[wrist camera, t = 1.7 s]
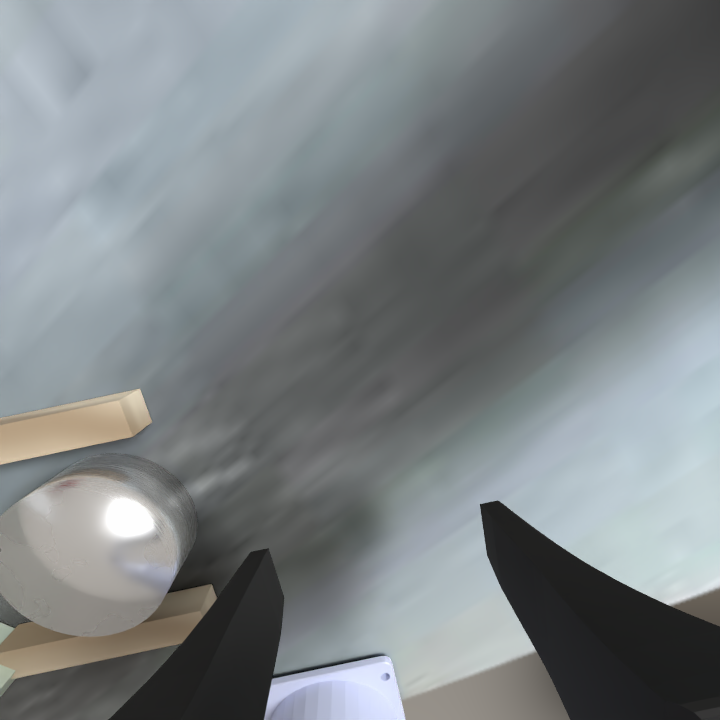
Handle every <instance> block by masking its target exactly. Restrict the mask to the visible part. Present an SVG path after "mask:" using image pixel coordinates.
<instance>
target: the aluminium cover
mask: <svg viewBox="0 0 720 720" xmlns="http://www.w3.org/2000/svg"><path fill="white" fill-rule="evenodd" d="M197 530H198V519H197V513H196V509H195V505H194V503H193V501H192V499H191V496H190V495H189V493H188V492H187V490H186V489H185V487H184V486H183V485H182V484H181V482H180V481H179V480H178V479H177V478H176V477H174V476H173V475H172V474H171V473H170V472H168V471H167V470H166V469H164V468H162V467H161V466H159V465H157V464H155V463H153V462H151V461H149V460H146V459H143V458H140V457H137V456H132V455H127V454H117V453H112V454H100V455H94V456H91V457H87V458H84V459H82V460H80V461H77V462H76V463H74V464H72V465H71V466H69V467H68V468H66V469H65V470H63V471H62V472H60V473H59V474H57V475H56V476H54V477H53V478H52V479H50V480H49V481H47V482H46V483H44V484H43V485H41V486H40V487H39V488H37V489H36V490H34V491H33V492H31V493H30V494H28V495H27V496H26V497H24V498H23V499H21V500H20V501H18V502H17V503H15V504H14V505H13V506H11V507H10V508H9V509H8V510H7V511H5V512H4V514H3V515H2V516H1V517H0V593H1V594H2V596H3V597H4V598H5V599H6V600H7V602H8V603H9V604H10V605H11V606H12V607H13V608H15V609H16V610H17V611H18V612H19V613H21V614H22V615H23V616H25V617H26V618H28V619H29V620H31V621H33V622H34V623H36V624H39V625H41V626H43V627H45V628H48V629H50V630H53V631H56V632H60V633H64V634H68V635H74V636H85V637H96V636H106V635H112V634H116V633H120V632H123V631H126V630H128V629H131V628H133V627H135V626H137V625H138V624H140V623H142V622H143V621H144V620H146V619H147V618H149V617H150V616H151V615H152V614H153V613H154V612H155V611H156V609H157V608H158V607H159V605H160V604H161V603H162V601H163V599H164V597H165V595H166V594H167V592H168V590H169V588H170V587H171V585H172V583H173V581H174V579H175V578H176V576H177V574H178V572H179V570H180V569H181V567H182V565H183V563H184V561H185V560H186V558H187V556H188V554H189V553H190V551H191V549H192V547H193V545H194V542H195V539H196V536H197Z"/></svg>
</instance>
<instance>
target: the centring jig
mask: <svg viewBox="0 0 720 720" xmlns="http://www.w3.org/2000/svg"><path fill="white" fill-rule="evenodd" d="M150 423H152V420H151V418H150V415H149V412H148V410H147V407H146V404H145V401H144V399H143V396H142V393H141V391H140V389H136V390H131V391H127V392H122V393H117V394H112V395H108V396H103V397H98V398H93V399H89V400H84V401H79V402H74V403H69V404H65V405H60V406H55V407H50V408H46V409H41V410H36V411H31V412H27V413H22V414H17V415H12V416H8V417H3V418H0V465H1V464H5V463H10V462H15V461H20V460H24V459H29V458H34V457H39V456H43V455H48V454H53V453H58V452H62V451H67V450H72V449H77V448H81V447H86V446H91V445H96V444H100V443H105V442H110V441H115V440H119V439H124V438H129V437H133V436H134V435H136V434H137V433H138V432H140V431H141V430H142V429H144V428H145V427H146V426H148V425H149V424H150ZM216 599H217V597H216V594H215V591H214V589H213V586H212V584H209V585H205V586H200V587H195V588H190V589H186V590H181V591H176V592H171V593H167V594H166V595H165V597H164V599H163V601H162V603H161V604H160V605H159V607H158V608H157V609H156V611H155V612H154V613H153V614H152V615H151V616H150V617H149V618H147V619H146V620H144V621H143V622H142V623H140V624H138V625H137V626H135V627H133V628H131V629H128V630H126V631H123V632H120V633H116V634H112V635H106V636H96V637H85V636H74V635H68V634H64V633H60V632H56V631H53V630H50V629H48V628H45V627H43V626H41V625H39V624H36V623H34V622H28V623H23V624H19V625H18V626H17V627H16V628H13V627H10V626H8V625H5V624H3V623H0V697H1V696H2V695H3V694H4V692H5V691H6V690H7V689H8V687H9V686H10V685H11V684H12V683H13V681H14V680H15V679H16V678H20V677H24V676H29V675H34V674H39V673H44V672H48V671H53V670H58V669H63V668H67V667H72V666H77V665H82V664H87V663H91V662H96V661H101V660H106V659H110V658H115V657H120V656H125V655H129V654H134V653H139V652H144V651H149V650H153V649H158V648H163V647H168V646H172V645H177V644H182V642H183V641H184V640H185V639H186V638H187V636H188V635H189V634H190V633H191V631H192V630H193V629H194V628H195V626H196V625H197V624H198V623H199V621H200V620H201V619H202V618H203V616H204V615H205V614H206V613H207V611H208V610H209V609H210V607H211V606H212V605H213V603H214V602H215V601H216Z"/></svg>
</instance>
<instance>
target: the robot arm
mask: <svg viewBox="0 0 720 720" xmlns="http://www.w3.org/2000/svg"><path fill="white" fill-rule="evenodd" d="M480 508H481V515H482V522H483V529H484V536H485V543H486V550H487V556H488V558H489V561H490V563H491V565H492V568H493V570H494V572H495V575H496V577H497V579H498V582H499V584H500V586H501V588H502V590H503V592H504V594H505V595H506V597H507V599H508V601H509V603H510V604H511V606H512V608H513V610H514V612H515V613H516V615H517V617H518V619H519V621H520V622H521V624H522V626H523V628H524V629H525V631H526V633H527V635H528V637H529V638H530V640H531V642H532V644H533V645H534V647H535V649H536V651H537V653H538V654H539V656H540V658H541V660H542V662H543V663H544V665H545V667H546V669H547V671H548V673H549V675H550V677H551V679H552V681H553V683H554V685H555V687H556V690H557V692H558V694H559V696H560V698H561V700H562V702H563V705H564V707H565V709H566V711H567V713H568V715H569V718H570V720H720V627H719V626H717V625H714V624H712V623H709V622H707V621H704V620H702V619H699V618H697V617H694V616H692V615H689V614H687V613H685V612H682V611H680V610H678V609H675V608H673V607H671V606H669V605H666V604H664V603H662V602H660V601H658V600H656V599H653V598H651V597H649V596H647V595H645V594H643V593H641V592H639V591H637V590H635V589H633V588H631V587H629V586H627V585H625V584H623V583H621V582H619V581H617V580H615V579H613V578H612V577H610V576H608V575H606V574H604V573H603V572H601V571H599V570H597V569H595V568H594V567H592V566H590V565H588V564H587V563H585V562H583V561H582V560H580V559H579V558H577V557H576V556H574V555H572V554H571V553H569V552H568V551H566V550H565V549H563V548H562V547H560V546H559V545H557V544H556V543H554V542H553V541H552V540H550V539H549V538H547V537H546V536H545V535H543V534H542V533H540V532H539V531H538V530H536V529H535V528H533V527H532V526H531V525H529V524H528V523H527V522H525V521H524V520H523V519H522V518H520V517H519V516H518V515H516V514H515V513H514V512H512V511H511V510H510V509H509V508H507V507H506V506H505V505H504V504H502V503H501V502H499V501H493V502H489V503H484V504H480ZM283 605H284V595H283V592H282V589H281V586H280V583H279V580H278V577H277V573H276V570H275V567H274V564H273V561H272V558H271V554H270V551H269V548H268V549H263V550H258V551H253V552H251V553H250V554H249V555H248V557H247V558H246V559H245V561H244V562H243V563H242V565H241V566H240V568H239V569H238V570H237V572H236V573H235V575H234V576H233V577H232V579H231V580H230V582H229V583H228V584H227V586H226V587H225V589H224V590H223V591H222V593H221V594H220V595H219V597H218V598H217V599H216V601H215V602H214V603H213V605H212V606H211V607H210V609H209V610H208V611H207V613H206V614H205V615H204V616H203V618H202V619H201V620H200V621H199V623H198V624H197V625H196V626H195V628H194V629H193V630H192V631H191V633H190V634H189V635H188V636H187V638H186V639H185V640H184V641H183V642H182V644H181V645H180V646H179V647H178V648H177V650H176V651H175V652H174V653H173V654H172V655H171V656H170V657H169V659H168V660H167V661H166V662H165V663H164V664H163V665H162V666H161V667H160V668H159V670H158V671H157V672H156V673H155V674H154V675H153V676H152V677H151V678H150V679H149V680H148V681H147V682H146V683H145V684H144V685H143V686H142V687H141V688H140V689H139V690H138V691H137V692H136V693H135V694H134V695H133V696H132V697H131V698H130V699H129V700H128V701H127V702H126V703H125V704H124V705H123V706H122V707H121V708H120V709H119V710H118V711H117V712H116V713H115V714H114V715H113V716H112V717H111V718H110V719H109V720H406V719H405V715H404V710H403V706H402V702H401V698H400V693H399V689H398V685H397V681H396V677H395V672H394V668H393V664H392V661H391V659H390V658H389V657H387V656H379V657H374V658H369V659H364V660H360V661H355V662H350V663H345V664H340V665H336V666H331V667H326V668H321V669H317V670H312V671H307V672H302V673H297V674H293V675H288V676H283V677H278V678H274V679H272V677H273V672H274V667H275V662H276V657H277V651H278V646H279V641H280V635H281V628H282V618H283Z"/></svg>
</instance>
